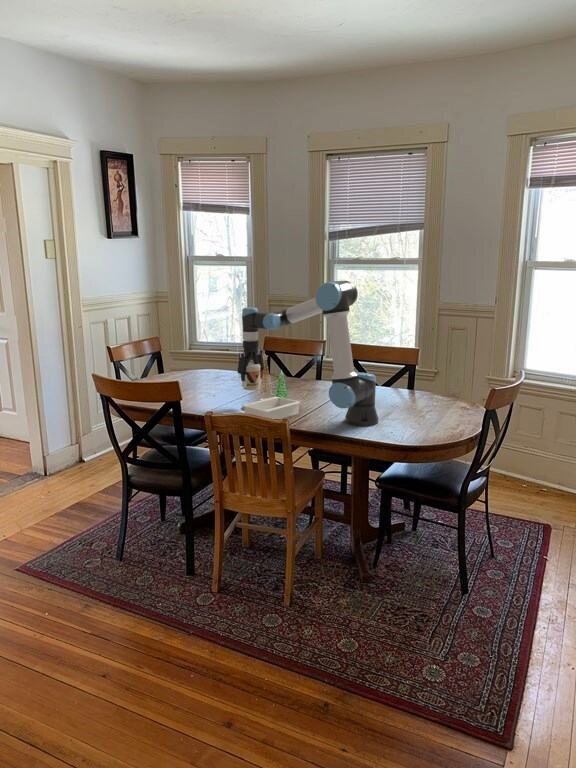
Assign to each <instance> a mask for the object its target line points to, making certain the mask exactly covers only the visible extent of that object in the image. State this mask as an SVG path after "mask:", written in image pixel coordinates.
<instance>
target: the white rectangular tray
mask: <svg viewBox="0 0 576 768" xmlns="http://www.w3.org/2000/svg"><path fill="white" fill-rule="evenodd" d="M302 403H303V402H302V401H298V400H295V399H289V398H285V397H279V396H273V397H269V398H265V399H261V400H258V401H254V402H253V401H252V402H249V403H246V404H245V403H244V404H241V406H242V407H245V411H244V414H245V413H248V414H254V415H258V416H262V417H268V418H272V419H279V420H281V419H285V418H289V417H291V416H295V415H299V414H300V410H299V409H300V408H299V404H302Z"/></svg>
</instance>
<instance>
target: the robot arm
mask: <svg viewBox="0 0 576 768" xmlns="http://www.w3.org/2000/svg"><path fill="white" fill-rule="evenodd" d="M358 295H359V293H358V288H357V287H356V285H355V284H354V283H353V282H351V281H349V280H332V281H331V280H330V281H326V282H325V283H322V284H320V286H319V287H318V288H317V290H316V292H315V297H314V298H311V299H309V300H305V301H303V302H301V303H297V304H295V305H293V306H290V307H288V308H286V309H283V310H279V311H271V312H259V309H258V308H257V307H243V308H242V312H241V318H242V319H241V321H242V349H243V352H239V353H238V365H237V372H236V373H237V374H239V375H240V381H241V387H242V389H244V388H247V375H246V366H248V364H249V363H251V361H252V363H254V364H260V366H261V367H260V379H262V372H263V371H264V369H265V363H264V357H263V350H261V349H259V329H261V330H268V331H273V330H277V329H278V328H282V327H289V326H291V325H293V324H295V323H297V322H299V321H302V320H306V319H308V318H310V317H313V316H316V315H319V314H322V316H323V317H325V318H326V321H327V328H328V331H327V332H328V337H329V343H330V350H331V357H332V358H331V359H332V367H333V372H334V373H333V375H332V376H331V386H330V387H329V389H328V398H329V399H330V400H329V401H330V402H331V403H332V404H333V405H334V406H335V407H336V408H339V409H347V412H346V415H345V416H344V421H345V423H346V424H348V425H351V426H355V427H374V426H376V425H378V424H379V415H378V413H377V408H376V389H377V386H376V384H377V379H376V375H375V374H373V373H368V372H357V371H355V368H354V362H353V361H354V359H353V353H352V345H351V338H350V329H349V323H348V314H349V313H350V312H351V311H350V307H352V305H354V304H355V303H356V301H357V299H358ZM259 386H261V383H260V384H259Z"/></svg>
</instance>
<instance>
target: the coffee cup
mask: <svg viewBox="0 0 576 768" xmlns="http://www.w3.org/2000/svg"><path fill="white" fill-rule="evenodd" d="M260 367H262V366H260V364H254V362H249V364H248V366H246V375H247V388H243V390H245V391H256V390H259V389H260V385H261V378H260ZM259 384H260V385H259Z"/></svg>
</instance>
